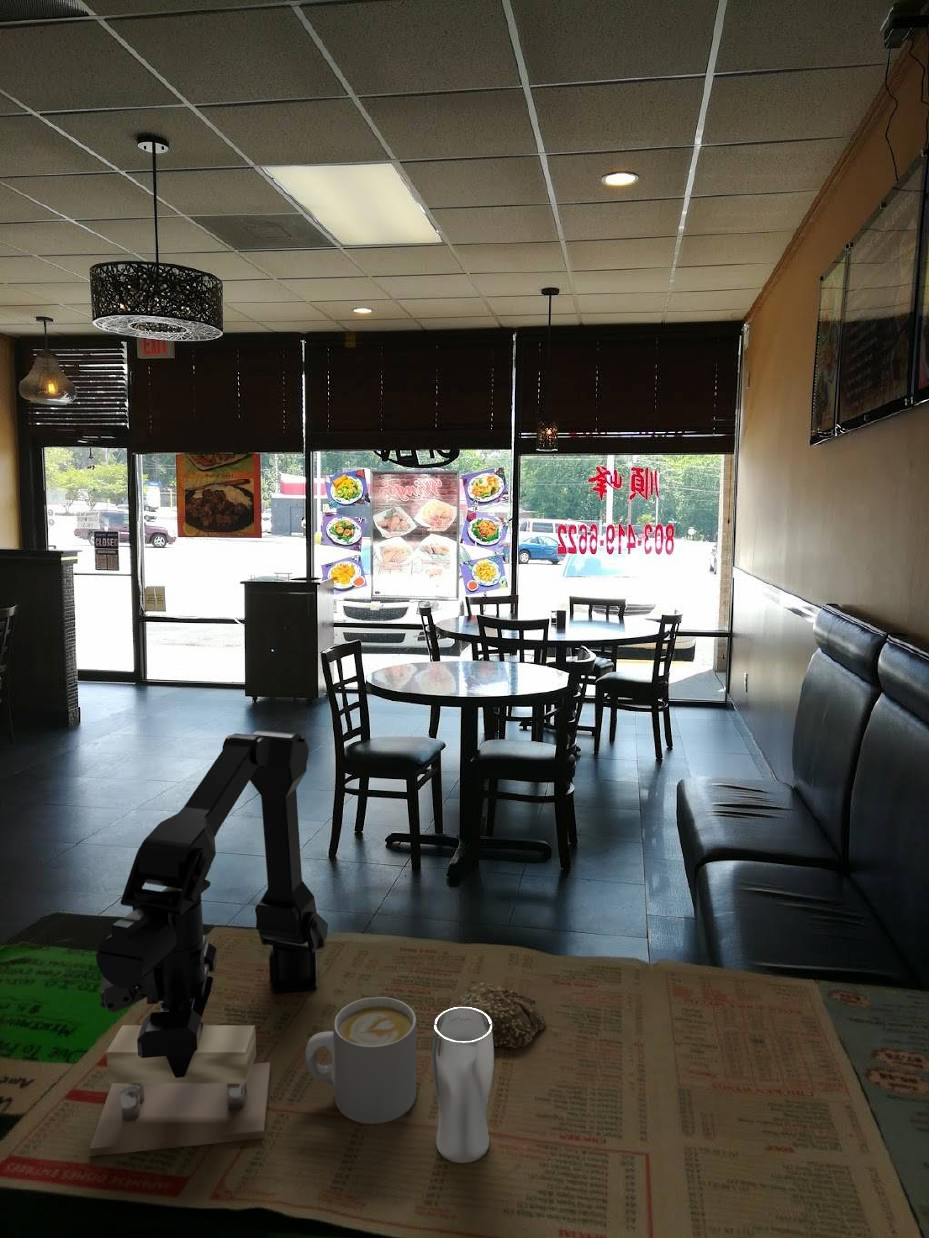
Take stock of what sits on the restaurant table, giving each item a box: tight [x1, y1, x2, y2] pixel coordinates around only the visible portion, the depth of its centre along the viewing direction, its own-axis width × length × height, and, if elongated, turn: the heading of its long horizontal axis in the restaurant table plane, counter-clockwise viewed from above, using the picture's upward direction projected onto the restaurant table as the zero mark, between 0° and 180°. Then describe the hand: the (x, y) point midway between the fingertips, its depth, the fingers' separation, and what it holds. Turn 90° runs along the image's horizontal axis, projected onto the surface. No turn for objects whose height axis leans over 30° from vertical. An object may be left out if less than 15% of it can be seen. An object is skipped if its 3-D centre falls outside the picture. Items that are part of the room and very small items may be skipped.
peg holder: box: [89, 1061, 271, 1157], centre depth 106 cm, size 19×12×4 cm, turn 99°
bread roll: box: [454, 981, 546, 1049], centre depth 123 cm, size 13×12×5 cm
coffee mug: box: [304, 996, 417, 1125], centre depth 109 cm, size 13×10×10 cm
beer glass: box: [431, 1007, 495, 1164], centre depth 100 cm, size 7×7×15 cm
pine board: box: [105, 1024, 257, 1084], centre depth 105 cm, size 16×5×4 cm, turn 90°
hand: (183, 1060), depth 105 cm, fingers closed on pine board, 5 cm apart
